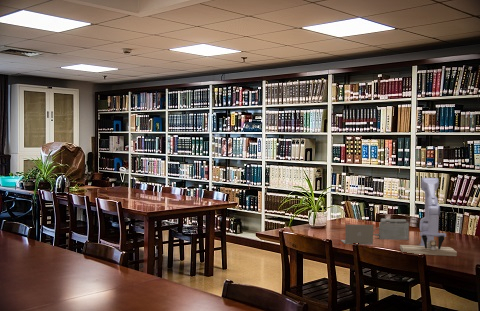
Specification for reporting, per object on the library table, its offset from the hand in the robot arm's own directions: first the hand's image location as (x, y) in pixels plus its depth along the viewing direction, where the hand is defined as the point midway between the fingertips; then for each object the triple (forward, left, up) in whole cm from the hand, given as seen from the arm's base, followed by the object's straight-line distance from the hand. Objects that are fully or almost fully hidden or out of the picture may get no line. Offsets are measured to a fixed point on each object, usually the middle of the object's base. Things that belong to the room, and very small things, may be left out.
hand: (432, 248), depth 303 cm
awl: (0, 0, -3) cm, 3 cm away
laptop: (-25, -42, -4) cm, 49 cm away
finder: (-7, 0, 0) cm, 7 cm away
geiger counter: (-42, -18, -3) cm, 46 cm away
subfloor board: (-4, -2, -3) cm, 5 cm away
